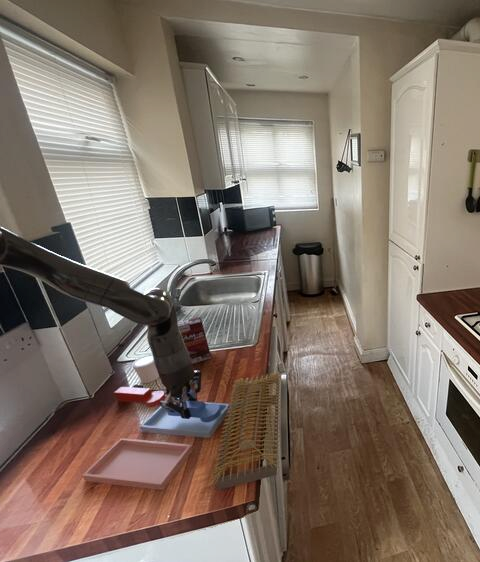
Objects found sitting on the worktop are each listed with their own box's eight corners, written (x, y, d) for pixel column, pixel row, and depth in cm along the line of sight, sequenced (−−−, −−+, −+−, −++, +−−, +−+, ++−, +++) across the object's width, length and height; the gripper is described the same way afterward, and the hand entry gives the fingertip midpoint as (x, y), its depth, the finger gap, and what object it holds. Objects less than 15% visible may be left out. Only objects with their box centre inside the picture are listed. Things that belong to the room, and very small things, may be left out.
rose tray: (85, 481, 71) (81, 475, 71) (123, 443, 81) (120, 437, 80) (163, 490, 69) (160, 484, 68) (193, 450, 78) (191, 444, 77)
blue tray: (142, 432, 84) (139, 426, 83) (169, 404, 93) (167, 399, 92) (210, 438, 81) (208, 432, 81) (231, 409, 91) (229, 403, 90)
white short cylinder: (167, 372, 108) (161, 355, 105) (150, 385, 101) (143, 368, 99) (151, 369, 109) (145, 353, 106) (133, 382, 103) (126, 365, 100)
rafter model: (235, 388, 99) (232, 373, 96) (282, 379, 102) (279, 364, 100) (212, 495, 67) (206, 476, 65) (280, 477, 71) (276, 458, 68)
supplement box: (185, 366, 110) (173, 328, 104) (184, 360, 114) (173, 322, 108) (212, 358, 114) (201, 321, 108) (210, 352, 118) (200, 315, 112)
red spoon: (114, 404, 94) (109, 395, 92) (128, 392, 99) (125, 383, 97) (156, 407, 92) (153, 398, 91) (169, 395, 97) (166, 386, 95)
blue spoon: (164, 419, 84) (161, 409, 83) (178, 405, 89) (174, 395, 88) (213, 423, 83) (210, 413, 81) (224, 408, 87) (222, 399, 86)
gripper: (179, 346, 86) (195, 394, 93) (138, 380, 74) (159, 433, 80) (204, 348, 85) (218, 396, 92) (166, 382, 73) (186, 435, 79)
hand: (190, 413), depth 86 cm, fingers closed on blue spoon, 2 cm apart
